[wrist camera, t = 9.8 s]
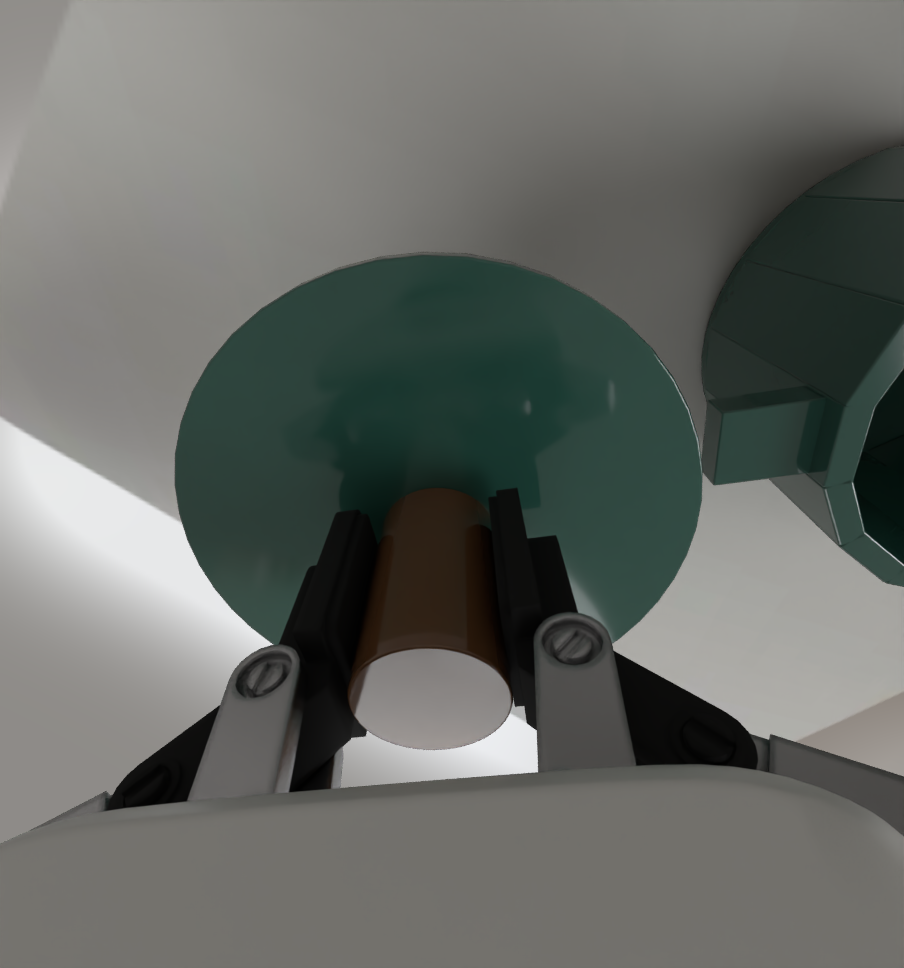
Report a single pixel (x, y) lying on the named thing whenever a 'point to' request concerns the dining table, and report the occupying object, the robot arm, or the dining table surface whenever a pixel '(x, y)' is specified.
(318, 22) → the dining table surface
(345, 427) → the pot lid
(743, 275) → the pot
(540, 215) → the dining table surface
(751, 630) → the dining table surface
